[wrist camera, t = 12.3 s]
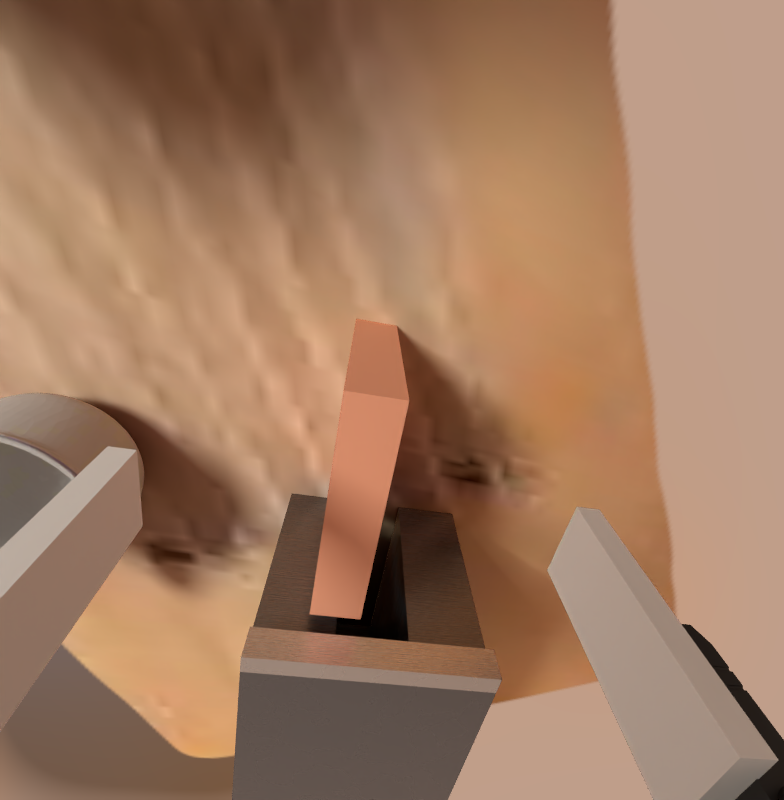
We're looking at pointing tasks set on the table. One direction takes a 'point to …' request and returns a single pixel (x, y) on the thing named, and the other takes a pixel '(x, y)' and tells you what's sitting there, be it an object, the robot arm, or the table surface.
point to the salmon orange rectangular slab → (361, 469)
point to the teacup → (48, 451)
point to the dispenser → (363, 673)
